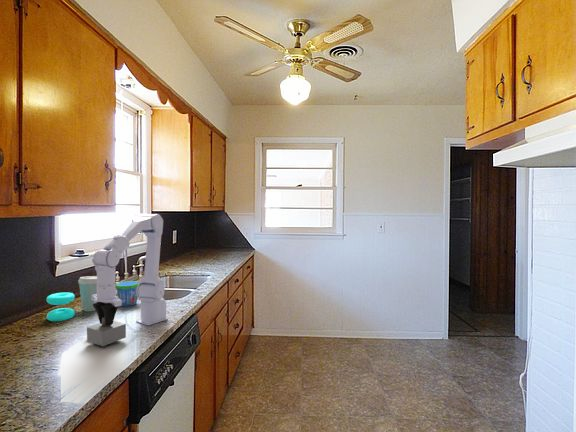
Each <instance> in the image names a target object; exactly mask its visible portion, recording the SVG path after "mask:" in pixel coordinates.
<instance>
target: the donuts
mask: <svg viewBox="0 0 576 432" xmlns="http://www.w3.org/2000/svg"><path fill="white" fill-rule="evenodd" d="M75 297H76V296H75V294H74V293H73V292H56V293H51V294H50V295H47V297H46V302H47V303H48V305H49V304H50V305H52V306H53V305H55V306H58V305H59V306H62V305H67V304H69V303H71V302H73V301H74V300H75ZM75 315H76V312H75V310H74V309H73V308H70V307H60V308H56V309H53V310H51V311H49V312H48V313H47V315H46V319H47V320H48V321H50V322H62V321H67V320H70V319H72V318H73V317H74V316H75Z"/></svg>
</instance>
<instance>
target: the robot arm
mask: <svg viewBox="0 0 576 432" xmlns="http://www.w3.org/2000/svg"><path fill="white" fill-rule="evenodd" d="M163 228H164V219H163V217H162V216H161V214H159V213H154V214H153V213H151V214H149V213H137V214H135V215H134V216H133V217H132V220H131V224H130V225H129V226H128V227H127V228H126V229H125V231H124V232H123V233H122V234H121V235H120V234H119V235H118V234H117V235H114V236H113V237H112V239H111V240H110V241H109V242H108V244H106V245H105V246H104V248H102V249H98V250H97V251H95V253H94V254H93V258H92V263H93V265H94V270H95V271H96V276H97V294H94V295H92V301H94V302H97V303H95V304H93V307H94V308H95V312H96V314H97V317H98V318H97V319H98V322H99V323H100V324H102V317H103V316H105V324H106V326H108V325H112V324H113V321H115V317H116V314H117V312H118V310H119V308H120V307H123V306H122V300H120V299H119V298H118V296H117V295H116V294H117V293H116V292H117V290H116V284H117V283H116V266H118V264H119V263H120V259H121V257H122V254H123V253H124V252H126V250H127V249H128V248H129V247H130V246H131V245H130V242H131V240H133V239H134V238H135V237H136V236H137V235H138V234H139V233H140V232H141V233H142V234H144V235H145V236H146V251H145V263H144V275H143V276H142V277H141V278H140V279H139V280H138V282H139V283H138V287H137V289H136V294H137V299H139V301H140V319H137V320H135V322H136V323H139V324H143V325H145V326H151V325H154V324H157V323H160V322H163V321H166V320H168V317H167V302H166V300H165V298H163V297H164V295H165V282H164V280H163V279H162V278H161V277H160V276H159V270H160V269H159V267H160V258H161V257H160V256H161V244H162V235H163V232H164V231H163V230H164V229H163Z"/></svg>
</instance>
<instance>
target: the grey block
mask: <svg viewBox="0 0 576 432" xmlns="http://www.w3.org/2000/svg"><path fill="white" fill-rule="evenodd" d="M126 326H127V325H126V323H124V322H120V321H116V320H114V321H113V324H112V325H108V326H106V324H105V316H103V317H102V324H100V322H99V323H95V324H93V325H90V326H86V341H87V342H89V343H91V344H95V345H98V346H101V347H104V346H108V345H109V344H112V343H115V342H118V341H120V340H122V339H125V338H127V334H126V333H127V332H126V330H127V327H126Z"/></svg>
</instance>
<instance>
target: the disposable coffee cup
mask: <svg viewBox="0 0 576 432" xmlns="http://www.w3.org/2000/svg"><path fill="white" fill-rule="evenodd" d="M77 281H78V282H77V283H78V287H79V294H80V301H81V306H82V310H83V311H84V312H96V310H95V308H94V307H93V304H95V303H97V302H94V301H92V295H94V294H97V275H92V276H91V275H90V276H89V275H87V276H80V277H79V279H78V280H77Z"/></svg>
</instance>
